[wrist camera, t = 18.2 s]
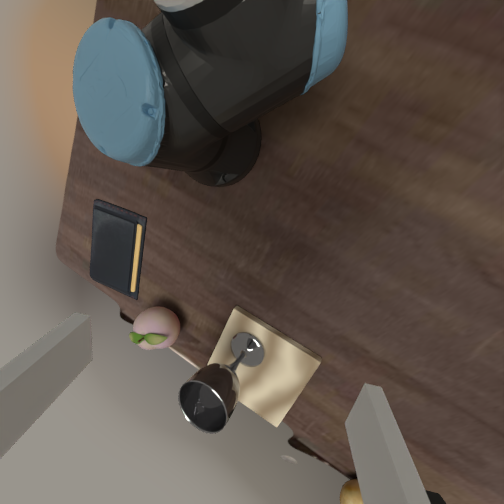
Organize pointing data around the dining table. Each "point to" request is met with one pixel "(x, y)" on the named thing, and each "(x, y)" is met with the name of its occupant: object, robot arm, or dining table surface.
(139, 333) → the decorative fruit
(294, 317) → the dining table surface
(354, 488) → the onion
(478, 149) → the dining table surface
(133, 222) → the wallet
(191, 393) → the wine glass
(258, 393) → the board
